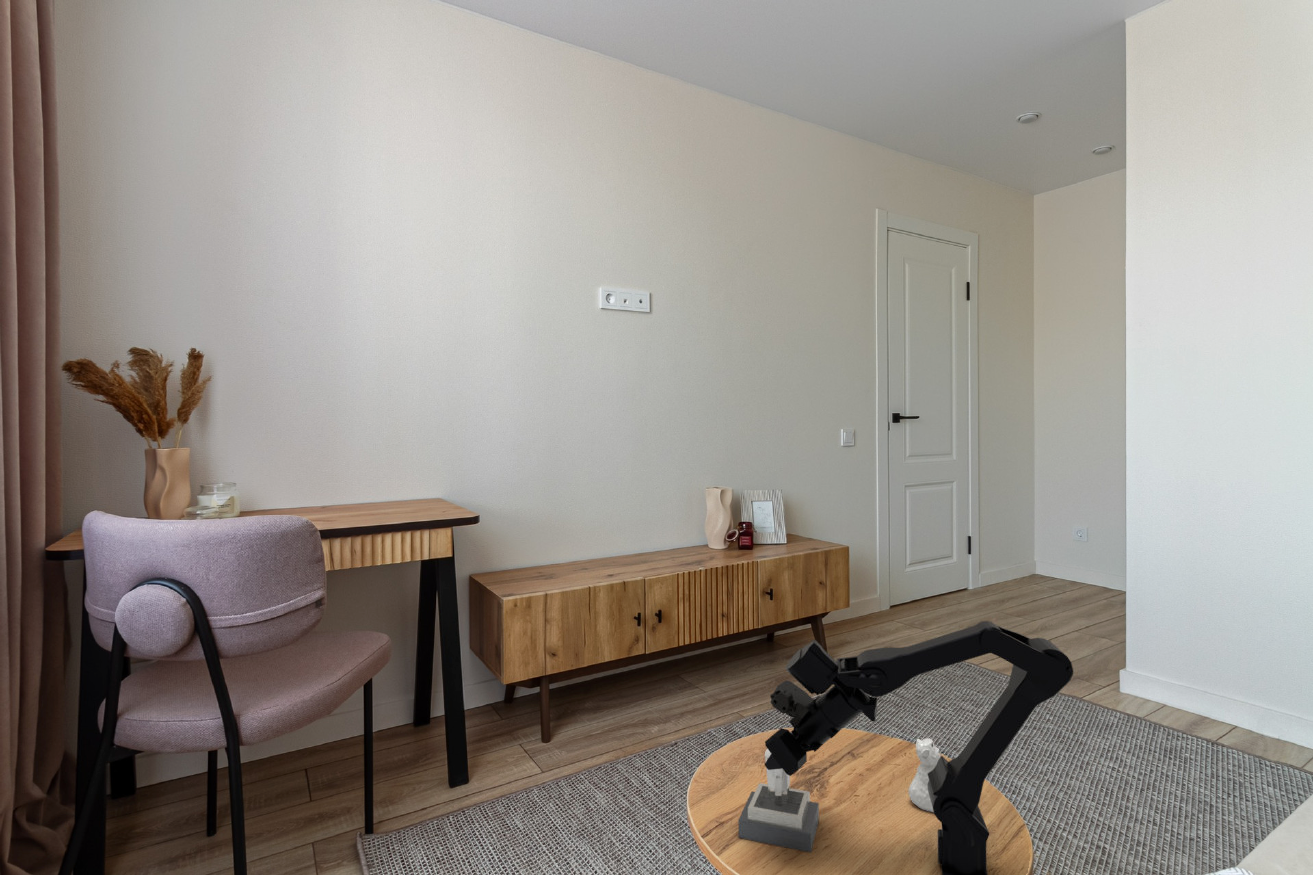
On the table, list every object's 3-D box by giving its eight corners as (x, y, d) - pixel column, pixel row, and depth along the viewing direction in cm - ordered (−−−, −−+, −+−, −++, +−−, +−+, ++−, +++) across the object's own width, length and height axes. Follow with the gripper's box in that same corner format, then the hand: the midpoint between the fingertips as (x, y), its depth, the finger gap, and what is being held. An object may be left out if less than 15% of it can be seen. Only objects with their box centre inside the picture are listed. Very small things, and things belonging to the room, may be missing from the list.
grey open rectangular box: (818, 820, 121) (818, 791, 121) (810, 852, 112) (810, 821, 112) (751, 807, 125) (751, 780, 125) (738, 837, 116) (738, 808, 116)
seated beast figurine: (966, 821, 121) (966, 753, 121) (916, 819, 121) (915, 751, 121) (949, 793, 130) (948, 730, 130) (902, 791, 131) (901, 728, 131)
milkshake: (797, 810, 116) (795, 750, 116) (765, 807, 117) (763, 748, 117) (797, 796, 120) (795, 739, 120) (766, 793, 121) (765, 737, 121)
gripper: (820, 655, 124) (766, 704, 130) (775, 687, 109) (716, 740, 115) (865, 708, 119) (806, 756, 126) (823, 749, 104) (759, 801, 110)
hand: (772, 761), depth 119 cm, fingers closed on milkshake, 4 cm apart
